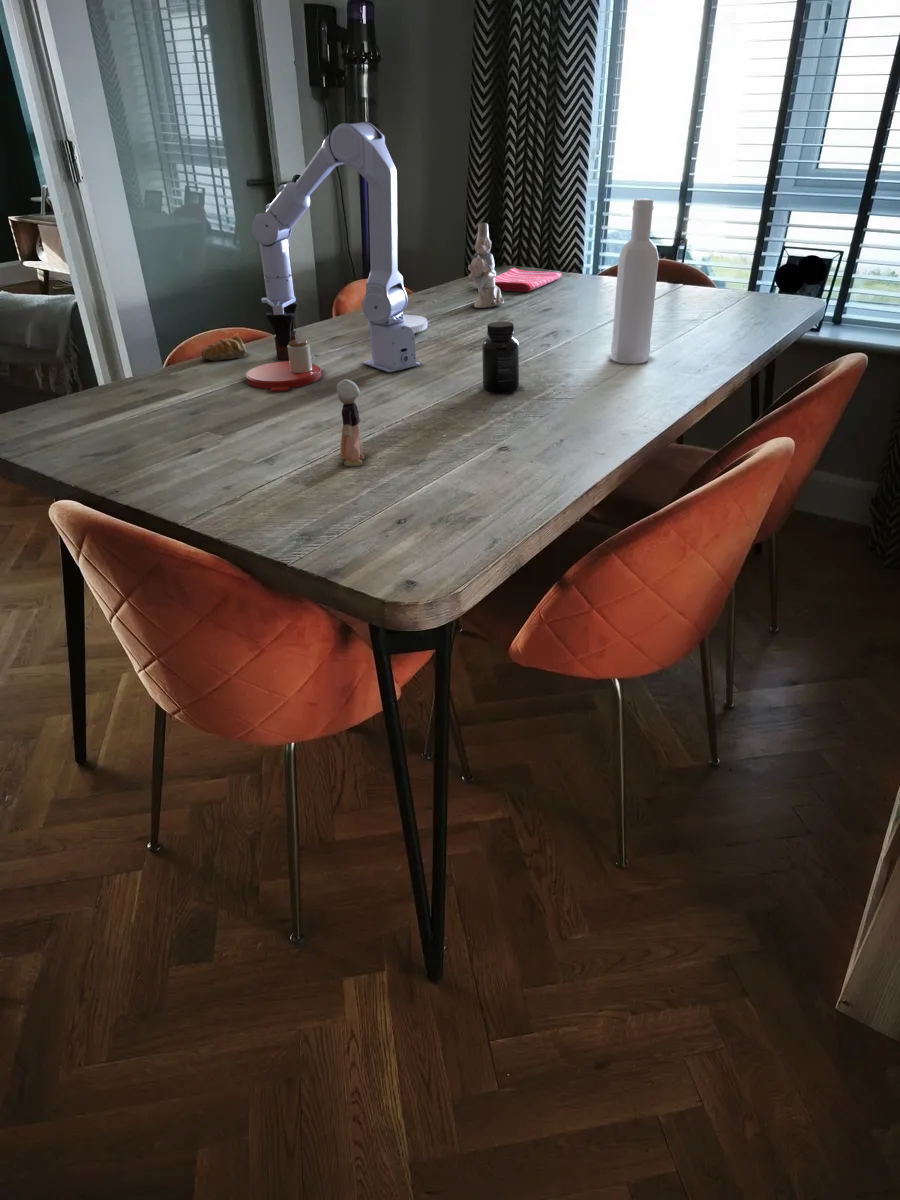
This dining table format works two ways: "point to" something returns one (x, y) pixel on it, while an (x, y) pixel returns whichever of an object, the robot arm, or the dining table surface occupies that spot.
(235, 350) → the pastry
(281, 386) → the red lid
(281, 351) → the walnut block
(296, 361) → the spice pot
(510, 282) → the dish towel
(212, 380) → the dining table surface
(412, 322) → the plastic lid
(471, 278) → the figurine
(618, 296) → the bottle
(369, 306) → the robot arm
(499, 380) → the supplement bottle
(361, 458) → the grandmother figurine
